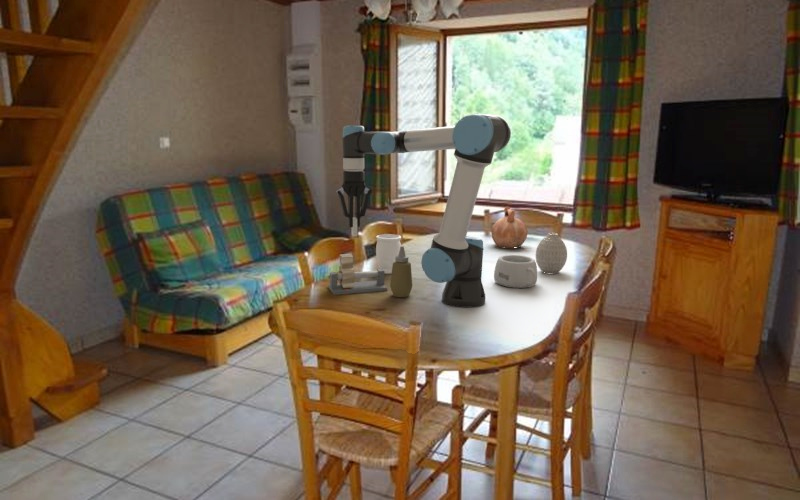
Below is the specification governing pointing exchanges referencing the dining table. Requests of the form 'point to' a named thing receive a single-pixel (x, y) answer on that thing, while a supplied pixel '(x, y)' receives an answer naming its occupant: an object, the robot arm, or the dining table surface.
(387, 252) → the jar
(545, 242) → the vase
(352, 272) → the cream wooden block stack
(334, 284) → the grey slider rail stand
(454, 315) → the dining table surface
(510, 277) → the mug
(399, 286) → the squeeze bottle
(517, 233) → the jug
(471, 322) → the dining table surface
